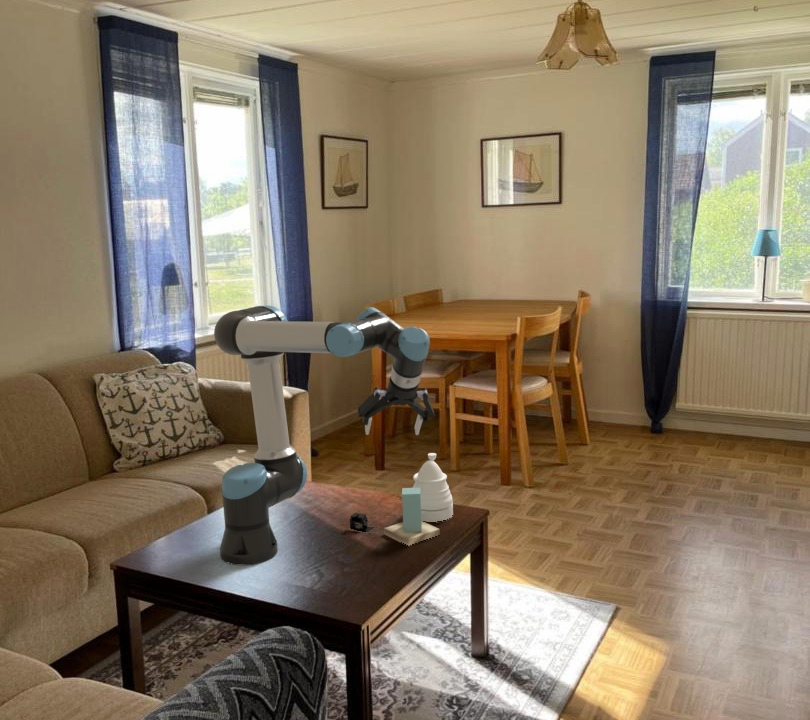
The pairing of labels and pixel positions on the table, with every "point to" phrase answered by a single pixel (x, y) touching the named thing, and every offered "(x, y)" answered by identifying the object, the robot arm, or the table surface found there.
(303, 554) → the table surface
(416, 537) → the base slab
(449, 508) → the honey pot
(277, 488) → the robot arm
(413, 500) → the pillar block
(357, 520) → the black boxy piece
